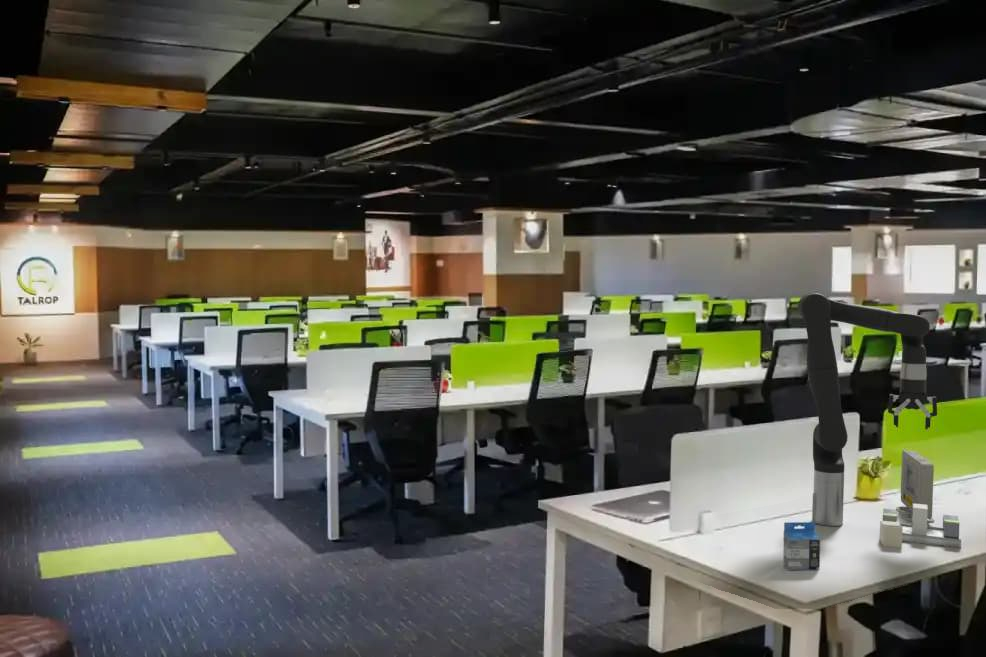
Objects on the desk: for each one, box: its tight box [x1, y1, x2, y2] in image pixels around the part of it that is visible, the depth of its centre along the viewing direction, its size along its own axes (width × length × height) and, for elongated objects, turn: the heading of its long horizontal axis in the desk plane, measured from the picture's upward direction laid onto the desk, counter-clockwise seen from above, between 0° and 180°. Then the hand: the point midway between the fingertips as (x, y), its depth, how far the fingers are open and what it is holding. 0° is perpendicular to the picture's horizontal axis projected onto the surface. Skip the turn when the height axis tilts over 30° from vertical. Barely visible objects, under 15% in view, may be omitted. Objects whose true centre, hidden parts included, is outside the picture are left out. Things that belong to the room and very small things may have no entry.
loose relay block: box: [879, 520, 903, 548], centre depth 270 cm, size 5×7×6 cm
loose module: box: [911, 503, 928, 535], centre depth 277 cm, size 4×6×8 cm
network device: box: [895, 450, 935, 524], centre depth 304 cm, size 26×9×20 cm, turn 168°
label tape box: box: [782, 521, 821, 571], centre depth 245 cm, size 9×4×12 cm, turn 93°
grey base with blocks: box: [882, 508, 962, 549], centre depth 277 cm, size 22×13×7 cm, turn 66°
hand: (911, 427), depth 287 cm, fingers open, 8 cm apart
